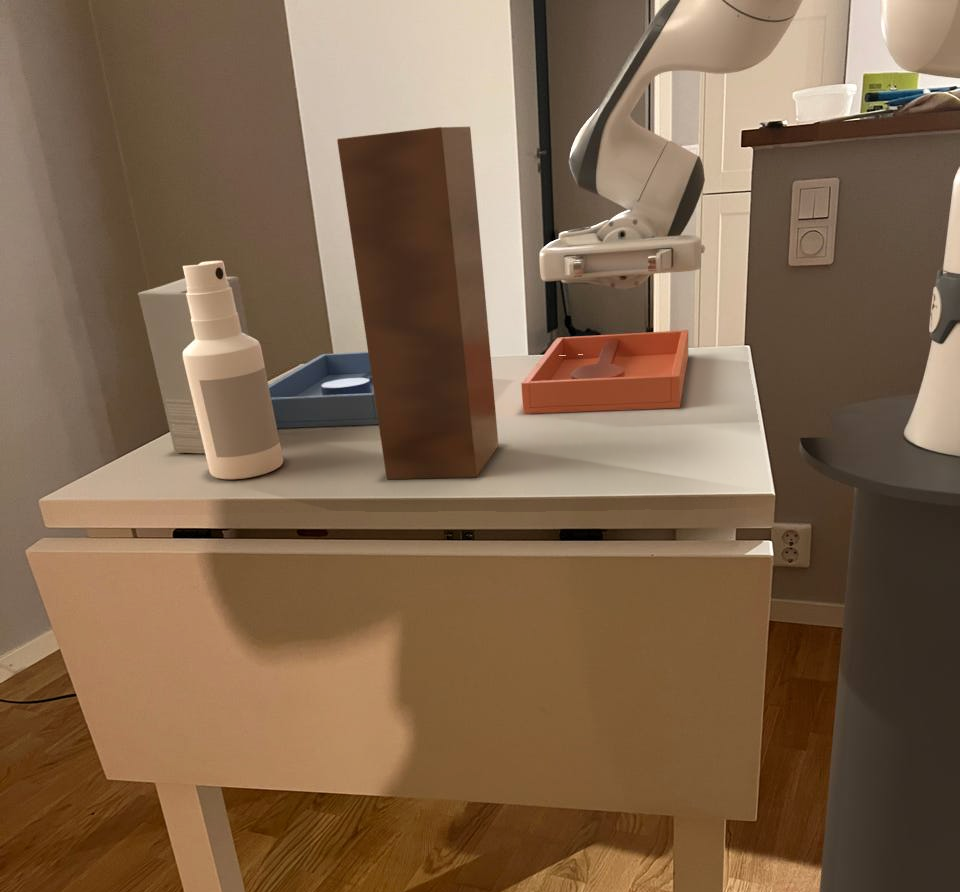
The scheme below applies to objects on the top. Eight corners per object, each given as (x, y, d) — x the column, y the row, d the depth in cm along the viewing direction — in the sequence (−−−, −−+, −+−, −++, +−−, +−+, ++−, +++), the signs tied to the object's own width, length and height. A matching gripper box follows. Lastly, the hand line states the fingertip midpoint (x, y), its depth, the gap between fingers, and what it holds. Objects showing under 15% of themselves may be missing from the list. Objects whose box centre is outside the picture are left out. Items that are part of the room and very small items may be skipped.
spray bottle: (250, 483, 85) (204, 268, 76) (194, 478, 88) (144, 271, 80) (298, 460, 90) (260, 256, 82) (244, 456, 93) (201, 259, 85)
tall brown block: (498, 446, 88) (470, 126, 76) (476, 477, 80) (441, 126, 68) (415, 448, 89) (375, 137, 78) (386, 479, 82) (336, 138, 70)
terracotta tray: (688, 356, 113) (688, 329, 112) (679, 407, 93) (679, 375, 92) (558, 363, 117) (557, 337, 116) (523, 414, 97) (521, 383, 96)
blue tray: (442, 372, 119) (439, 347, 118) (383, 424, 99) (379, 394, 97) (325, 378, 123) (321, 354, 121) (246, 429, 103) (240, 400, 101)
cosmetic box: (216, 431, 103) (181, 276, 96) (274, 431, 100) (242, 272, 93) (170, 455, 96) (128, 289, 89) (230, 455, 94) (192, 285, 86)
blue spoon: (408, 369, 122) (407, 357, 121) (362, 400, 106) (360, 386, 106) (367, 372, 123) (366, 360, 123) (315, 402, 108) (313, 388, 107)
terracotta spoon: (636, 344, 113) (636, 331, 113) (622, 392, 99) (621, 378, 98) (589, 347, 115) (588, 334, 114) (568, 394, 100) (567, 380, 99)
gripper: (705, 272, 125) (702, 288, 114) (551, 282, 130) (533, 299, 119) (705, 220, 122) (703, 231, 111) (548, 232, 127) (530, 244, 116)
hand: (614, 266), depth 115 cm, fingers open, 8 cm apart
